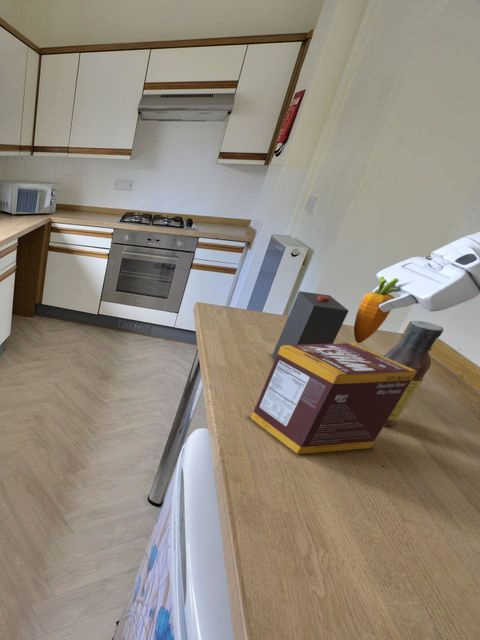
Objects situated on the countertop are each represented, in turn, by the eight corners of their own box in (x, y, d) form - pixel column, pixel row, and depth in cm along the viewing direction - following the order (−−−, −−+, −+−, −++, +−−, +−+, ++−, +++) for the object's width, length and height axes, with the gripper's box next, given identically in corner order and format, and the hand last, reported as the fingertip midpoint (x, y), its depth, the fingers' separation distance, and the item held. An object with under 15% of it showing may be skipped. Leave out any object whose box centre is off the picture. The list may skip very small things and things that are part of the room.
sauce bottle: (353, 404, 84) (403, 314, 75) (395, 418, 80) (452, 324, 71) (350, 416, 79) (402, 323, 71) (393, 432, 75) (454, 334, 67)
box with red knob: (357, 371, 97) (395, 300, 89) (379, 393, 88) (422, 317, 80) (272, 355, 103) (300, 287, 95) (283, 374, 94) (315, 301, 86)
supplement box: (372, 448, 71) (419, 370, 64) (297, 455, 68) (338, 374, 61) (317, 413, 80) (353, 341, 73) (249, 418, 77) (280, 344, 71)
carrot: (342, 336, 93) (372, 272, 87) (371, 342, 91) (404, 276, 84) (344, 343, 90) (376, 276, 83) (374, 349, 87) (409, 281, 81)
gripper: (420, 243, 88) (344, 280, 95) (486, 263, 70) (387, 307, 78) (436, 266, 88) (360, 301, 96) (505, 292, 71) (406, 332, 78)
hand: (372, 304), depth 87 cm, fingers closed on carrot, 5 cm apart
